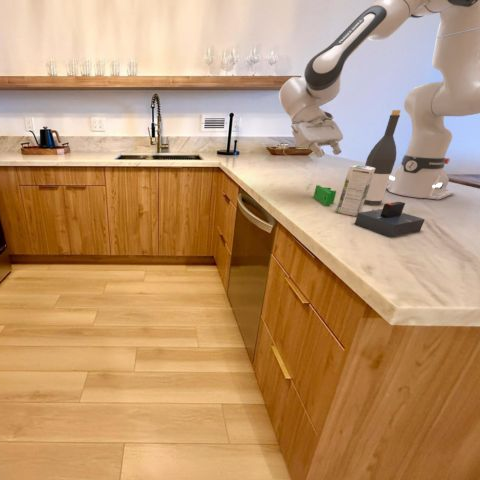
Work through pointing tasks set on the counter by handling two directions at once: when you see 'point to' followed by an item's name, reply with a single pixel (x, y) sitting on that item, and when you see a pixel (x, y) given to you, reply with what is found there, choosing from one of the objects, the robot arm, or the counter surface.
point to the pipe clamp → (324, 195)
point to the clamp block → (389, 223)
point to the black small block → (392, 209)
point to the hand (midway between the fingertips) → (330, 154)
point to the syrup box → (355, 189)
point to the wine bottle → (382, 162)
